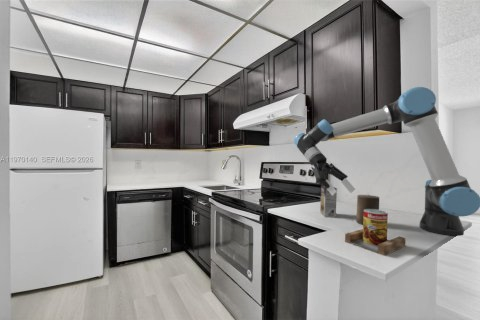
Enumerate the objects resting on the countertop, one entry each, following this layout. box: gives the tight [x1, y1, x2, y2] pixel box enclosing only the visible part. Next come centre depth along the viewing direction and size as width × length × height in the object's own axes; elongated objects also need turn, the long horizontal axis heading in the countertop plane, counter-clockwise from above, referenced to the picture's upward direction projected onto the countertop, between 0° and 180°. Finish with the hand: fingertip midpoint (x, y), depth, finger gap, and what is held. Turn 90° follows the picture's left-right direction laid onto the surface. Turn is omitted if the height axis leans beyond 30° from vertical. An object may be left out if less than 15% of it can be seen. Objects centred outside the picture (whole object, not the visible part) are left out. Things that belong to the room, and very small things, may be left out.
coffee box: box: [319, 185, 338, 218], centre depth 127 cm, size 9×6×16 cm
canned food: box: [362, 209, 389, 246], centre depth 85 cm, size 8×8×12 cm
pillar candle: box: [356, 194, 380, 225], centre depth 112 cm, size 10×10×15 cm
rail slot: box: [344, 228, 407, 256], centre depth 85 cm, size 16×14×3 cm
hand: (344, 192), depth 98 cm, fingers open, 13 cm apart
